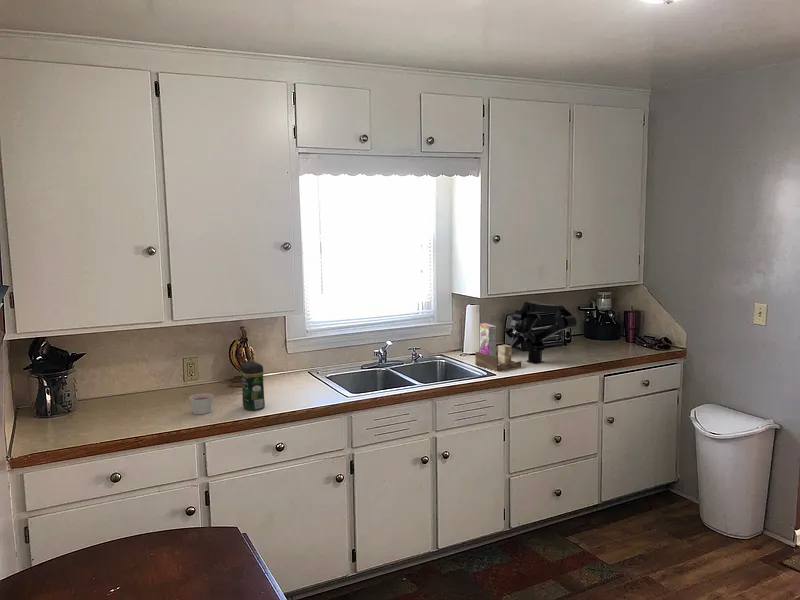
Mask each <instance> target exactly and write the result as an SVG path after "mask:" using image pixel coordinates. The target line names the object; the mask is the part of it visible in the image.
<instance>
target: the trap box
mask: <svg viewBox="0 0 800 600" xmlns="http://www.w3.org/2000/svg"><path fill="white" fill-rule="evenodd" d="M475 365H477V366H476V367H479V366H480V367H479V368H482V367H483V368H482V369H486V368H487V370H489V369H490V370H489V371H493V370H494V372H496V371H498V372H503V371H502V370H504V371H508V370H507V369H509V370H514V369H518V368H519V367H520V368H522V360H520V361H514V360H511V362H507V363H503V362H499V361H498V355H496V356H491V355H487V354H483V353H480V352H479V351H475ZM513 368H514V369H513Z"/></svg>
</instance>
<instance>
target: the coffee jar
mask: <svg viewBox="0 0 800 600" xmlns="http://www.w3.org/2000/svg"><path fill="white" fill-rule="evenodd" d="M240 374H241V388H242V406H243V407H244V409H245V410H247V411H259V410H261V409H264V408H265V407H266V406H265V403H266V402H265V391H264V389H265V388H264V387H265V385H264V366H263V365H262V364H261V363H258V362H256V361H254V360H249V361H244V362H243V363H242V364H241V369H240Z"/></svg>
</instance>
